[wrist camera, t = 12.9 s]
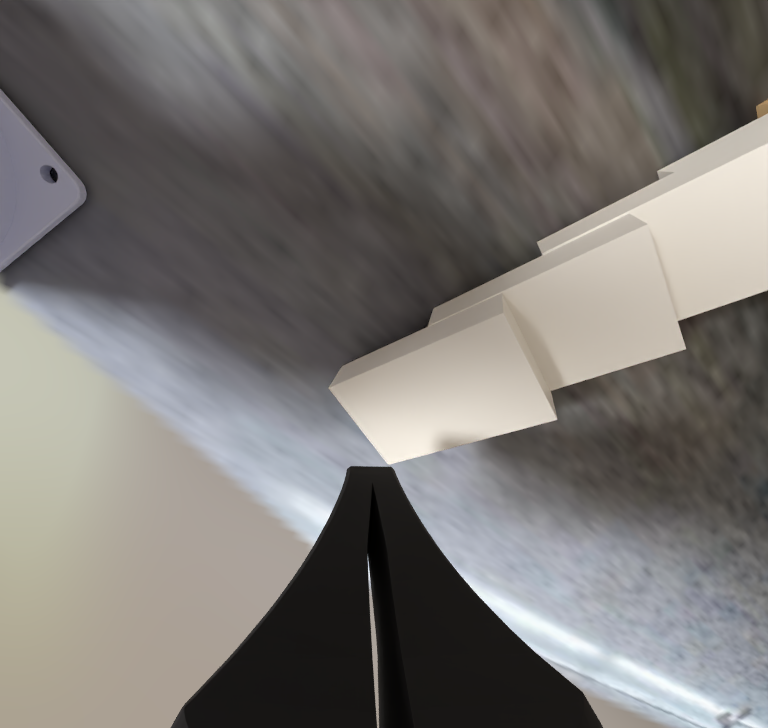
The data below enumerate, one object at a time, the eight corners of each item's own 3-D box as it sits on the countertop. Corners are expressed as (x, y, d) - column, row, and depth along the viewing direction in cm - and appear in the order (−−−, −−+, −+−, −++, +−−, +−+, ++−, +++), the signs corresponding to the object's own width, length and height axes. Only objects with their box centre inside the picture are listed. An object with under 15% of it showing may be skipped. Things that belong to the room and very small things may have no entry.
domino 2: (427, 325, 13) (647, 223, 10) (433, 308, 14) (629, 213, 11) (480, 412, 15) (686, 348, 11) (481, 389, 16) (665, 326, 13)
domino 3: (541, 253, 12) (820, 117, 9) (536, 241, 14) (779, 119, 10) (584, 352, 14) (837, 266, 11) (576, 333, 15) (799, 251, 12)
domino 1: (328, 388, 14) (503, 312, 11) (342, 365, 15) (501, 292, 12) (388, 464, 15) (557, 419, 12) (396, 438, 17) (550, 391, 13)
